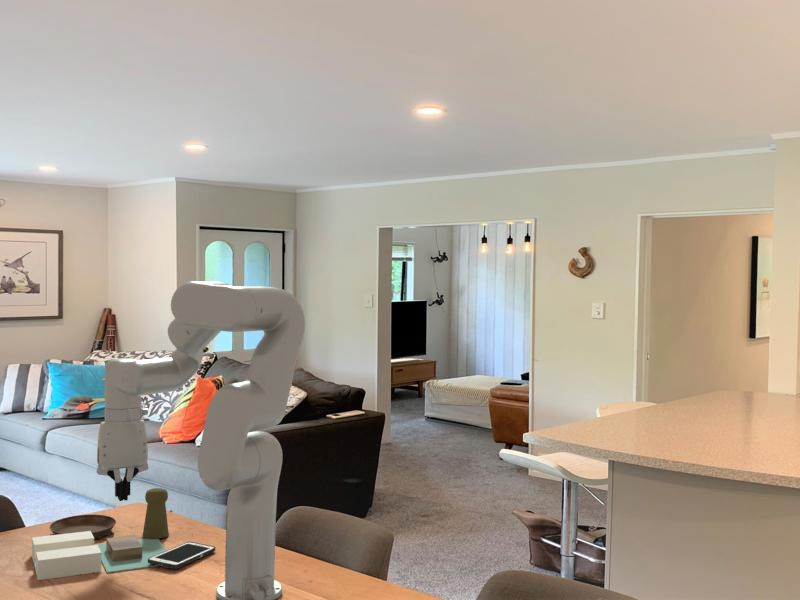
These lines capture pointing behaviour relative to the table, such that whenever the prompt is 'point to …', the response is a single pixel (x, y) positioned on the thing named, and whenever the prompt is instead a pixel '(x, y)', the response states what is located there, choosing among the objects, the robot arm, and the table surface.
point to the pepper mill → (156, 514)
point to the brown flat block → (124, 548)
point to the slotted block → (65, 555)
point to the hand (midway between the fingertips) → (122, 499)
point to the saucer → (84, 525)
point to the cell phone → (181, 555)
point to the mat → (148, 550)
